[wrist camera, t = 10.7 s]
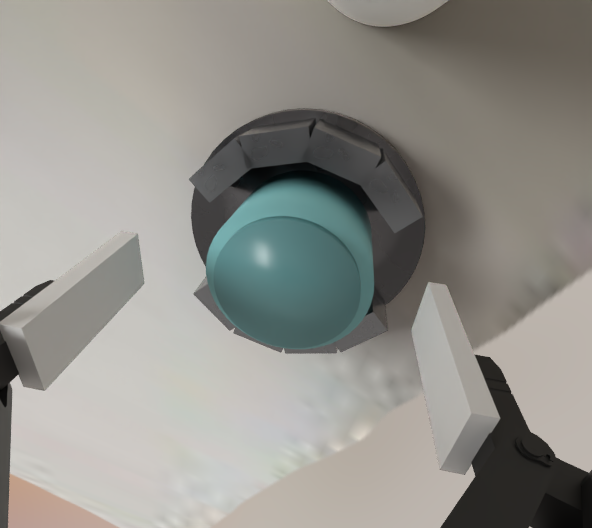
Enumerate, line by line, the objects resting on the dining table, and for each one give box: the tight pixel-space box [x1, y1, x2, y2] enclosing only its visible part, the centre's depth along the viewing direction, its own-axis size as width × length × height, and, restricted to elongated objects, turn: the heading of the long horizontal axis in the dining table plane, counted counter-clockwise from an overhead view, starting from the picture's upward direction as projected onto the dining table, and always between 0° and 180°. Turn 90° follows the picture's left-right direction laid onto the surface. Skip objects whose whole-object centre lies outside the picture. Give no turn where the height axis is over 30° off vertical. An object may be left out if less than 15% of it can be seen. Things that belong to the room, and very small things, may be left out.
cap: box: [206, 170, 374, 349], centre depth 19 cm, size 8×8×6 cm
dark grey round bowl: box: [189, 108, 425, 353], centre depth 21 cm, size 14×14×4 cm
